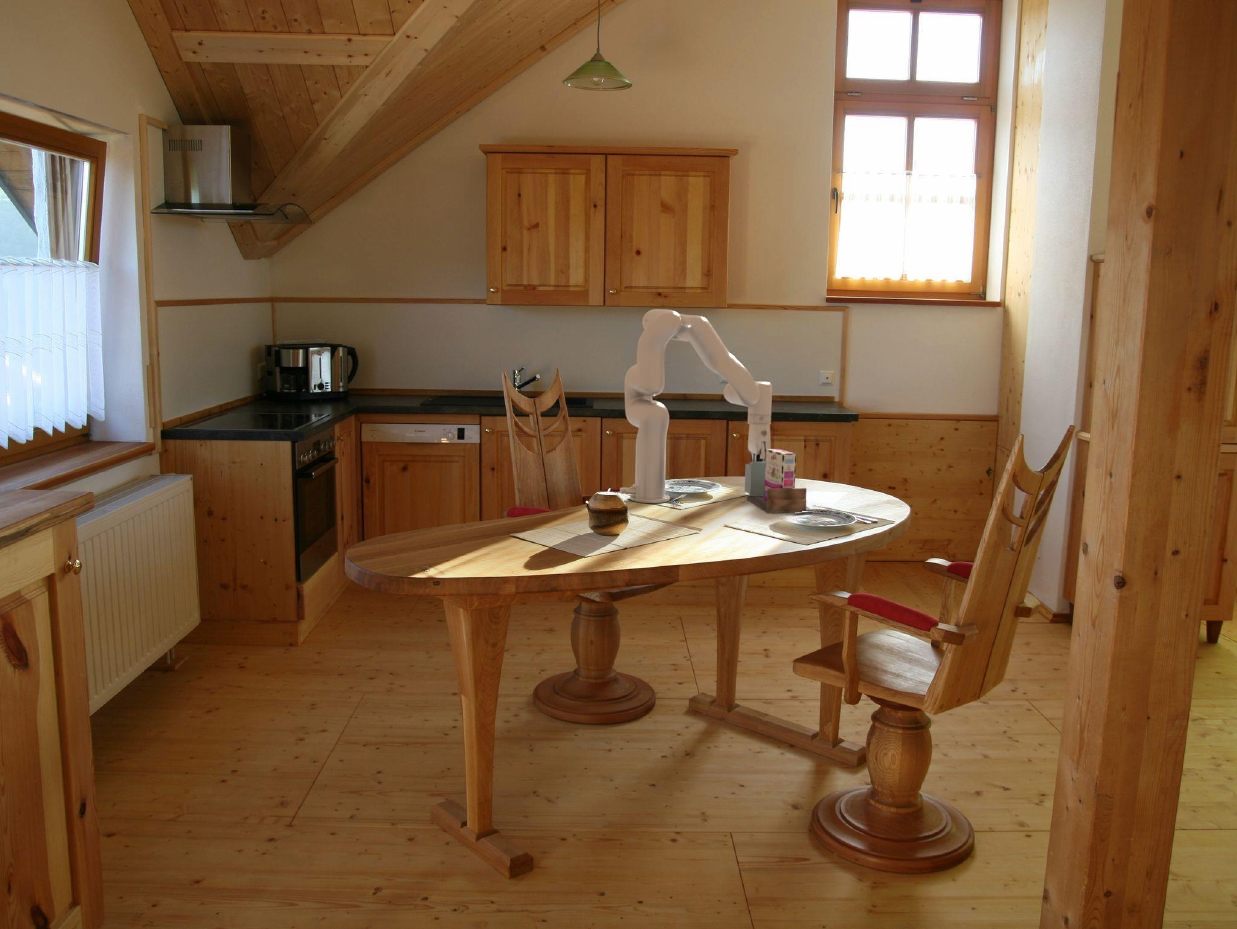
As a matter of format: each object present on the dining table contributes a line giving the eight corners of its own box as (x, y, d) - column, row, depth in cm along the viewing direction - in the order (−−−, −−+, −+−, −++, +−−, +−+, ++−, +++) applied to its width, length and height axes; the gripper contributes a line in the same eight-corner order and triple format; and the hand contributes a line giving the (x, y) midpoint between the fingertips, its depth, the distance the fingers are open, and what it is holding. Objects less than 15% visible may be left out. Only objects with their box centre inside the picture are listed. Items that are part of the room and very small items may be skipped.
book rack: (768, 513, 321) (769, 491, 320) (746, 499, 343) (747, 478, 342) (812, 512, 324) (813, 490, 323) (788, 498, 345) (789, 477, 344)
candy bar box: (795, 506, 330) (797, 453, 327) (780, 506, 328) (782, 454, 325) (777, 499, 340) (779, 448, 337) (763, 500, 338) (765, 448, 335)
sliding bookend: (750, 496, 342) (751, 462, 340) (741, 491, 351) (742, 457, 349) (786, 495, 344) (787, 461, 343) (776, 490, 353) (778, 457, 352)
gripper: (777, 422, 344) (775, 478, 347) (762, 416, 359) (760, 470, 362) (755, 422, 343) (753, 478, 346) (741, 416, 357) (739, 471, 360)
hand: (757, 474), depth 354 cm, fingers closed
